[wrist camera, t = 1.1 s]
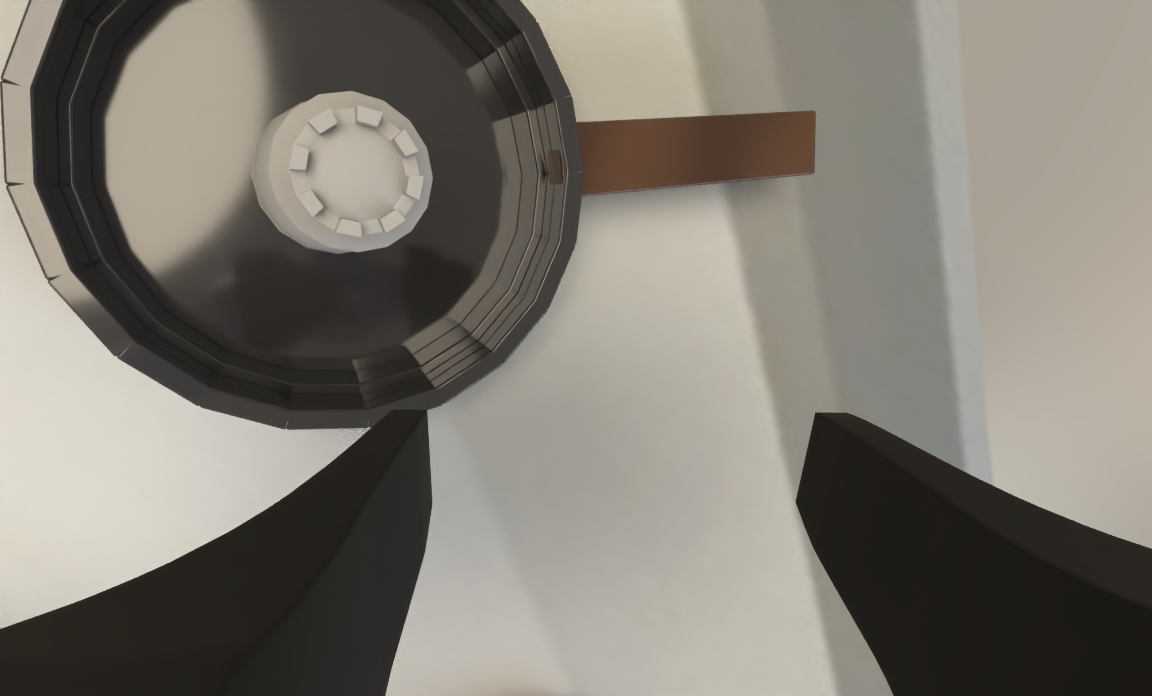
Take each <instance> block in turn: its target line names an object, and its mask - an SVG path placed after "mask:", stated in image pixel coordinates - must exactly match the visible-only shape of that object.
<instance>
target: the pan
mask: <svg viewBox="0 0 1152 696" xmlns="http://www.w3.org/2000/svg"><path fill="white" fill-rule="evenodd" d="M1 80H3V81H1V82H0V99H1V120H2V140H3V161H4V181H5V183H6V184H8V185H6V189H7V191H8V193H9V196H10V198H11V200H12V203H13V205H14V207H15V209H16V212H17V214H18V216H19V219H20V221H21V223H22V225H23V228H24V230H25V232H26V235H27V237H28V239H29V242H30V244H31V246H32V248H33V251H34V253H35V255H36V258H37V260H38V262H39V264H40V267H41V269H42V271H43V274H44V276H45V278H46V279H47V280H48V283H49V284H50V286H51V287H52V288H53V289H54V290H55V291H56V292H57V293H58V294H59V296H60V297H61V298H62V299H63V300H64V301H65V302H66V303H67V304H68V305H69V307H70V308H71V309H72V310H73V311H74V312H75V313H76V314H77V315H78V317H79V318H80V319H81V320H82V321H83V322H84V323H85V324H86V325H87V326H88V328H89V329H90V330H91V331H92V332H93V333H94V334H95V335H96V336H97V338H98V339H99V340H100V341H101V342H102V343H103V344H104V345H105V346H106V347H107V349H108V350H109V351H110V352H111V353H112V354H113V355H114V356H117V358H118V359H120V360H121V361H123V362H125V363H126V364H128V365H130V366H131V367H133V368H135V369H136V370H138V371H140V372H141V373H143V374H145V375H146V376H148V377H150V378H151V379H153V380H155V381H156V382H158V383H160V384H161V385H163V386H165V387H166V388H168V389H170V390H171V391H173V392H175V393H176V394H178V395H180V396H181V397H183V398H185V399H186V400H188V401H190V402H191V403H193V404H195V405H197V406H199V405H200V407H202V408H205V409H208V410H212V411H216V412H220V413H224V414H228V415H231V416H235V417H239V418H243V419H247V420H250V421H254V422H258V423H262V424H266V425H270V426H273V427H277V428H281V429H286V428H287V429H288V430H301V429H345V428H368V427H373V426H374V425H375V424H376V423H378V422H379V421H380V420H381V419H382V418H383V417H384V416H385V415H387V414H388V413H389V412H390V411H392V410H429V409H432V408H435V407H438V406H441V405H442V404H445V403H446V402H448V401H449V400H451V399H452V398H454V397H455V396H457V395H458V394H460V393H461V392H463V391H464V390H466V389H467V388H469V387H470V386H472V385H473V384H475V383H476V382H478V381H479V380H481V379H482V378H484V377H485V376H487V375H488V374H490V373H491V372H493V371H494V370H496V369H497V368H499V367H500V366H501V365H502V363H505V362H506V360H507V359H508V358H509V357H510V356H511V354H512V353H513V352H514V351H515V350H516V348H517V347H518V346H519V345H520V343H521V342H522V341H523V340H524V339H525V337H526V336H527V335H528V334H529V333H530V331H531V330H532V329H533V328H534V326H535V325H536V324H537V323H538V322H539V320H540V319H541V318H542V317H543V316H544V314H545V313H546V312H547V309H548V308H549V307H550V304H551V302H552V300H553V297H554V295H555V293H556V290H557V288H558V286H559V283H560V281H561V278H562V276H563V274H564V271H565V269H566V267H567V264H568V262H569V259H570V257H571V255H572V252H573V250H574V248H575V244H576V240H577V231H578V223H579V214H580V205H581V197H582V188H583V179H584V167H583V161H582V155H581V149H580V143H579V136H578V130H577V124H576V118H575V112H574V106H573V100H572V97H571V93H570V91H569V89H568V87H567V85H566V83H565V80H564V78H563V76H562V74H561V72H560V70H559V67H558V65H557V63H556V61H555V59H554V56H553V54H552V52H551V50H550V48H549V46H548V43H547V41H546V39H545V37H544V35H543V33H542V30H541V28H540V26H539V24H538V22H536V19H535V18H534V16H533V15H532V14H531V13H530V12H529V11H528V9H527V8H526V7H525V6H524V5H523V3H522V2H521V1H520V0H29V2H28V4H27V7H26V10H25V12H24V15H23V18H22V20H21V23H20V26H19V29H18V31H17V34H16V37H15V39H14V42H13V45H12V47H11V50H10V53H9V56H8V58H7V61H6V64H5V66H4V69H3V72H2V74H1ZM347 91H353V92H357V93H360V94H363V95H367V96H370V97H373V98H377V99H380V100H383V101H385V102H386V103H387V104H389V105H390V106H391V107H393V108H394V109H395V110H397V111H398V112H399V113H400V114H402V115H403V116H404V117H406V118H407V119H408V120H410V122H411V123H412V125H413V127H414V128H415V130H416V131H417V133H418V135H419V136H420V138H421V139H422V141H423V142H424V144H425V146H426V147H427V151H428V156H429V161H430V166H431V171H432V176H433V180H432V185H431V191H430V196H429V202H428V207H427V208H426V210H425V211H424V213H423V214H422V216H421V217H420V219H419V220H418V222H417V224H416V225H415V227H414V228H413V230H412V231H411V232H409V233H408V234H406V235H405V236H403V237H401V238H400V239H398V240H397V241H395V242H394V243H392V244H391V245H389V246H388V247H384V248H378V249H373V250H367V251H362V252H353V251H352V252H347V253H341V254H336V253H331V252H326V251H320V250H315V249H310V248H306V247H305V246H303V245H301V244H300V243H298V242H296V241H295V240H293V239H292V238H290V237H288V236H287V235H285V234H283V233H282V232H280V231H279V230H278V228H277V227H276V226H275V225H274V223H273V222H272V221H271V219H270V218H269V217H268V216H267V214H266V213H265V212H264V210H263V209H262V208H261V207H260V205H259V201H258V197H257V194H256V190H255V187H254V183H253V180H252V176H251V173H252V166H253V159H254V152H255V146H256V143H257V142H258V140H259V139H260V137H261V136H262V134H263V133H264V131H265V130H266V128H267V127H268V125H269V124H270V122H271V121H272V120H273V119H274V118H275V117H277V116H279V115H280V114H282V113H284V112H286V111H287V110H289V109H291V108H293V107H294V106H296V105H298V104H299V103H301V102H307V101H308V100H310V99H312V98H313V97H315V96H317V95H319V94H326V93H337V92H347ZM558 149H559V150H560V154H561V158H562V164H563V169H564V178H563V183H562V184H560V185H550V183H549V172H548V160H547V151H551V150H558Z"/></svg>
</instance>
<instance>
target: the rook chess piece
mask: <svg viewBox="0 0 1152 696" xmlns="http://www.w3.org/2000/svg"><path fill="white" fill-rule="evenodd" d="M251 176H252V180H253V183H254V187H255V190H256V194H257V197H258V201H259V205H260V207H261V208H262V209H263V210H264V212H265V213H266V214H267V216H268V217H269V218H270V219H271V221H272V222H273V223H274V225H275V226H276V227H277V228H278V230H279V231H280V232H282V233H283V234H285V235H287V236H288V237H290V238H292V239H293V240H295V241H296V242H298V243H300V244H301V245H303V246H305V247H306V248H310V249H315V250H320V251H326V252H331V253H336V254H341V253H347V252H352V251H353V252H362V251H367V250H373V249H378V248H384V247H388V246H389V245H391V244H392V243H394V242H395V241H397V240H398V239H400V238H401V237H403V236H405V235H406V234H408V233H409V232H411V231H412V230H413V228H414V227H415V225H416V224H417V222H418V220H419V219H420V217H421V216H422V214H423V213H424V211H425V210H426V208H427V207H428V202H429V196H430V191H431V185H432V180H433V176H432V171H431V166H430V161H429V156H428V151H427V147H426V146H425V144H424V142H423V141H422V139H421V138H420V136H419V135H418V133H417V131H416V130H415V128H414V127H413V125H412V123H411V122H410V120H408V119H407V118H406V117H404V116H403V115H402V114H400V113H399V112H398V111H397V110H395V109H394V108H393V107H391V106H390V105H389V104H387V103H386V102H385V101H383V100H380V99H377V98H373V97H370V96H367V95H363V94H360V93H357V92H353V91H347V92H337V93H326V94H319V95H317V96H315V97H313V98H312V99H310V100H308V101H307V102H301V103H299V104H298V105H296V106H294V107H293V108H291V109H289V110H287V111H286V112H284V113H282V114H280V115H279V116H277V117H275V118H274V119H273V120H272V121H271V122H270V124H269V125H268V127H267V128H266V130H265V131H264V133H263V134H262V136H261V137H260V139H259V140H258V142H257V143H256V146H255V152H254V159H253V166H252V173H251Z"/></svg>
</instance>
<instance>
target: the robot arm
mask: <svg viewBox="0 0 1152 696" xmlns="http://www.w3.org/2000/svg"><path fill="white" fill-rule="evenodd" d="M796 504H797V507H798V510H799V513H800V515H801V518H802V521H803V523H804V526H805V529H806V531H807V534H808V536H809V538H810V541H811V543H812V546H813V548H814V550H815V552H816V554H817V556H818V558H819V559H820V561H821V563H822V565H823V567H824V568H825V570H826V572H827V574H828V576H829V577H830V579H831V581H832V583H833V584H834V586H835V588H836V590H837V591H838V593H839V595H840V597H841V598H842V600H843V602H844V604H845V605H846V607H847V609H848V611H849V612H850V614H851V616H852V618H853V619H854V621H855V623H856V625H857V626H858V628H859V630H860V632H861V633H862V635H863V637H864V639H865V640H866V642H867V644H868V646H869V647H870V649H871V651H872V653H873V654H874V656H875V658H876V660H877V662H878V664H879V666H880V668H881V670H882V672H883V674H884V676H885V678H886V680H887V682H888V684H889V686H890V689H891V691H892V693H893V695H894V696H1152V549H1150V548H1147V547H1144V546H1141V545H1139V544H1136V543H1133V542H1130V541H1127V540H1124V539H1121V538H1117V537H1115V536H1112V535H1109V534H1106V533H1104V532H1101V531H1098V530H1096V529H1093V528H1090V527H1088V526H1085V525H1082V524H1080V523H1077V522H1075V521H1073V520H1070V519H1068V518H1065V517H1063V516H1060V515H1058V514H1055V513H1053V512H1050V511H1048V510H1045V509H1043V508H1041V507H1038V506H1036V505H1034V504H1031V503H1029V502H1027V501H1024V500H1022V499H1020V498H1018V497H1015V496H1013V495H1011V494H1009V493H1007V492H1005V491H1003V490H1001V489H999V488H996V487H994V486H992V485H990V484H988V483H986V482H984V481H982V480H980V479H978V478H976V477H974V476H972V475H970V474H968V473H966V472H964V471H962V470H960V469H958V468H956V467H954V466H952V465H950V464H948V463H946V462H944V461H942V460H940V459H939V458H937V457H935V456H933V455H931V454H929V453H927V452H925V451H923V450H922V449H920V448H918V447H916V446H914V445H912V444H910V443H908V442H907V441H905V440H903V439H901V438H899V437H897V436H895V435H893V434H891V433H890V432H888V431H886V430H884V429H882V428H880V427H878V426H876V425H874V424H872V423H870V422H868V421H866V420H863V419H861V418H859V417H857V416H854V415H851V414H849V413H815V417H814V421H813V426H812V430H811V435H810V440H809V444H808V449H807V453H806V458H805V462H804V467H803V471H802V476H801V480H800V485H799V489H798V494H797V498H796ZM431 509H432V489H431V471H430V454H429V436H428V418H427V410H392V411H390V412H389V413H388V414H387V415H385V416H384V417H383V418H382V419H381V420H380V421H379V422H378V423H376V424H375V425H374V426H373V427H372V428H371V429H370V430H368V431H367V432H366V433H365V434H364V435H363V436H362V437H361V438H359V439H358V440H357V441H356V442H355V443H354V444H352V445H351V446H350V447H349V448H348V449H347V450H345V451H344V452H343V453H342V454H341V455H339V456H338V457H337V458H336V459H335V460H334V461H332V462H331V463H330V464H329V465H327V466H326V467H325V468H323V469H322V470H321V471H319V472H318V473H317V474H315V475H314V476H313V477H311V478H310V479H309V480H307V481H306V482H305V483H303V484H302V485H301V486H299V487H298V488H297V489H295V490H294V491H293V492H291V493H290V494H289V495H287V496H286V497H284V498H283V499H281V500H280V501H278V502H277V503H275V504H274V505H272V506H271V507H269V508H268V509H266V510H265V511H263V512H261V513H260V514H258V515H256V516H255V517H253V518H251V519H250V520H248V521H246V522H245V523H243V524H242V525H240V526H238V527H236V528H235V529H233V530H231V531H229V532H228V533H226V534H224V535H222V536H220V537H218V538H216V539H214V540H212V541H210V542H208V543H207V544H205V545H203V546H201V547H199V548H197V549H195V550H193V551H191V552H189V553H187V554H185V555H183V556H181V557H180V558H178V559H176V560H174V561H172V562H170V563H167V564H165V565H163V566H161V567H159V568H157V569H154V570H152V571H150V572H148V573H145V574H143V575H141V576H139V577H137V578H134V579H132V580H130V581H127V582H125V583H122V584H120V585H118V586H115V587H113V588H110V589H108V590H106V591H103V592H101V593H98V594H96V595H93V596H91V597H88V598H86V599H83V600H81V601H78V602H75V603H73V604H70V605H67V606H65V607H62V608H59V609H56V610H53V611H50V612H47V613H45V614H42V615H39V616H36V617H33V618H30V619H28V620H25V621H22V622H19V623H16V624H13V625H11V626H8V627H5V628H2V629H0V696H385V694H386V689H387V685H388V681H389V677H390V673H391V669H392V665H393V661H394V658H395V654H396V651H397V647H398V644H399V641H400V637H401V634H402V630H403V627H404V623H405V620H406V617H407V613H408V610H409V606H410V603H411V599H412V596H413V592H414V589H415V585H416V582H417V578H418V575H419V571H420V568H421V564H422V561H423V557H424V554H425V548H426V542H427V536H428V530H429V523H430V516H431Z"/></svg>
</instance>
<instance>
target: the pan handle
mask: <svg viewBox="0 0 1152 696" xmlns="http://www.w3.org/2000/svg"><path fill="white" fill-rule="evenodd" d="M576 124H577V130H578V136H579V143H580V149H581V155H582V161H583V167H584V179H583V188H582V196H592V195H602V194H613V193H623V192H633V191H644V190H654V189H665V188H675V187H685V186H696V185H706V184H716V183H727V182H737V181H748V180H758V179H768V178H779V177H789V176H799V175H810V174H813V173H814V171H815V129H816V112H815V111H796V112H776V113H756V114H736V115H715V116H695V117H675V118H655V119H634V120H614V121H594V122H576ZM547 160H548V172H549V183H550V185H560V184H562V183H563V178H564V169H563V164H562V158H561V154H560V150H559V149H558V150H551V151H547Z"/></svg>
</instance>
